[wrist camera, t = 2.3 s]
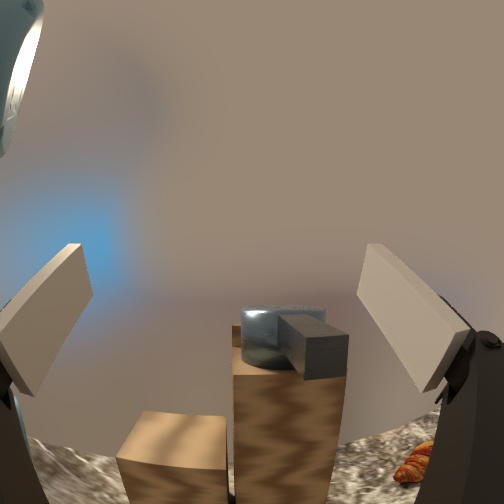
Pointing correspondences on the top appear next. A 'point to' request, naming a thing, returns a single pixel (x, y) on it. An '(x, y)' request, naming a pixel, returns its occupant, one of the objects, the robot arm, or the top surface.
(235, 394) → the pine stand
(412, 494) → the top surface
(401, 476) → the croissant
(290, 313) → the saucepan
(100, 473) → the top surface
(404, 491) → the top surface
